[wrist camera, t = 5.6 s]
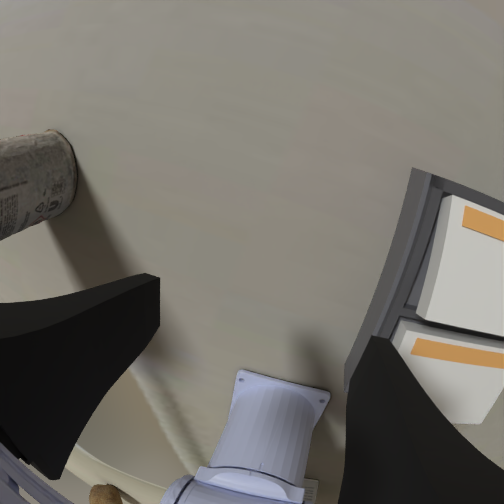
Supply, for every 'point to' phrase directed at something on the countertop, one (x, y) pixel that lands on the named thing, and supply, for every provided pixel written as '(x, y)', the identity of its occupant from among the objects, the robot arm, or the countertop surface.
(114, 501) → the brown potato
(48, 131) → the spray can
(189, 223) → the countertop surface
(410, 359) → the panel
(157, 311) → the robot arm
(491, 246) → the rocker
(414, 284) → the grey divided tray
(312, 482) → the container
